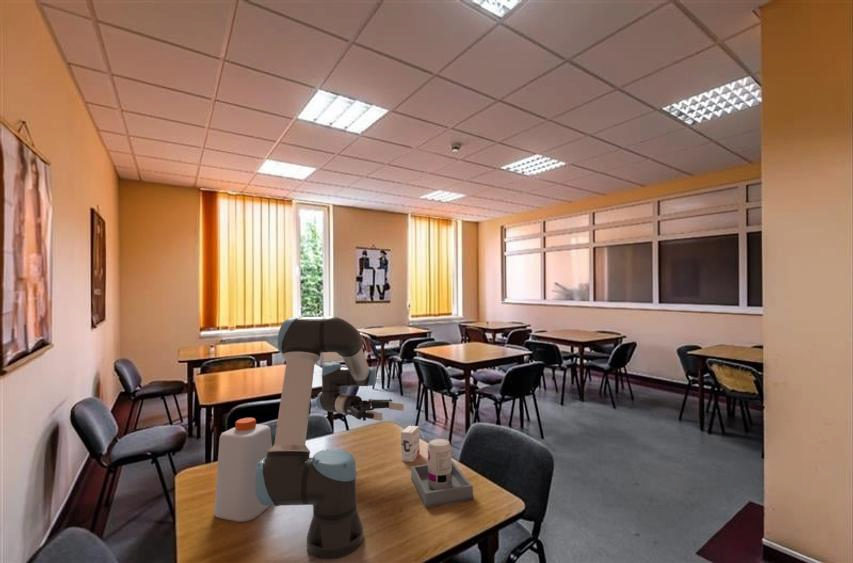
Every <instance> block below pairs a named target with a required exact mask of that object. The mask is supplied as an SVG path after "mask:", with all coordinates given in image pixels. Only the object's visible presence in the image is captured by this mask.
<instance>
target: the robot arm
mask: <svg viewBox="0 0 853 563" xmlns="http://www.w3.org/2000/svg"><path fill="white" fill-rule="evenodd" d="M277 350H278V351H279V353H281V354H282V359H283V360H284V361H285V363H286V364H285V368H284V376H283V382H282V388H281V389H282V390H281V395H280V396H281V397H280V402H279V408H278V409H279V410H278V417H277V422H276V430H275V436H274V443H273V444H272V447H271V448H270V449H269V450H268V451H267V457H266V458H264V459H262V460H261V461H260V462H259V463H258V467H257V468H256V473H255V492H256V495H257V498H258V500H259V502H260V503H261V504H263V505H271V506H274V507H280V506H306V505H307V506H311V505H312V507H313V508H312V510H313V511H312V513H313V514H312V518H311V522H310V524H309V528H308V531H307V535H306V548H307V551H308V553H309V554H311V555H312V556H313V557H315V558H316V557H317V558H319V559H325V560H327V559H337V558H341V557H344V556H347V555H349V554H351V553H352V552H355V550H357V549H358V548H359V547H360V545H361V544H362V543H363V540H364V526H363V524H362V520H361V517H360V514H359V512H358V509H357V475H358V474H357V473H358V472H357V467H356V465H357V464H356V459H355V457H354V456H353V454H351V453H350V452H348V451H346V450H342V449H337V448H327V449H324V450H323V449H322V450H319V451H317V452H316V453H315V452H314V454H313V456H312V457H310V456H311V455H310V454H311V451H310V449H309V447H308V446H306V441H307V440H306V439H307V432H308V425H309V424H308V423H309V416H310V408H311V406H310V405H311V398H312V389H313V382H314V381H313V380H314V372H315V365H316V364H317V362H319V361H320V360H321V353H337V355H339V356H340V357H341V358H342V359H343V362H344V363H345V365H346V367H342V364H341V362H327V363H324V364H323V365H322V366H321V367H322V368H321V369H322V370H321V387H322V391H320V392H319V393H318V394H317V397H316V400H315V404H316V406H317V408H318V409H320V410H322V411H325V412H330V413H338V414H341V415H343V416H345V415H348V416H352V417H354V418H355V419H357V420H359V421H360V420H362V421H367V419H368V420H375V421H381V422H382V421H383V412H381V411H375V410H377V409H378V410H379V409H389V410H395V411H400V412H401V411H402V412H404V410H405V403H404V402H398V401H397V402H395V401H393V399H391V398H389V399H371V398H369V399H368V400H363V399H362V398H361V397H360V396H359V395H355V394H347V393H341V392H342V391H341V390H342V387H370V386H371V387H372V386H375V385H376V383H377V369H376V367H373V366H369V365H368V361H367V359H366V356H365V353H364V351H363V350H364V349H363V338H362V335H361V334H360V332H359V331H358V329H357V328H356V327H355V326H354V325H353V324H351V323H350V322H348V321H347V320H345V319H343V318H340V317H337V316H332V315H331V316H297V317H289V318H287V319H286V320H284V321H283V322H282V324H281V326H280V327H279V331H278V335H277Z"/></svg>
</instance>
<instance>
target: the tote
mask: <svg viewBox="0 0 853 563" xmlns="http://www.w3.org/2000/svg"><path fill="white" fill-rule="evenodd" d="M451 461H452V485H451V487H450V488H447V489H440V490H433V489H431V488H430V487H429V485H428V463H426V464H420V465H412V466H411V467H410V474H411V475H410V476H411V481H412V483H413V484H414V487H415V489H416V491H417V493H418V495H419V497H420V500H421V502H422V504H423V506H424V508H425V509H429V508H433V507H440V506H447V505H452V504H457V503H462V502H469V501H474V488H473V487H474V486H473V484H472V483H471V482H470V480H469V479H468V478H467V477H466V476H465V474H464V473H463V472H462V471H461V469H460V468H459V467H458V465H457V464H456V463H455V462H454V461H453V460H451Z"/></svg>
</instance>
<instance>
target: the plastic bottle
mask: <svg viewBox="0 0 853 563" xmlns="http://www.w3.org/2000/svg"><path fill="white" fill-rule="evenodd" d="M234 424H235V427H231V428H230V429H228V430H226V431H224V432H222V433H221V434H220V436H219V441H218V454H217V455H218V456H217V471H216V480H215V481H216V484H215V494H214V495H215V497H214V509H213V513H214V515H215V517H216V518H219V519H222V520H227V521H232V522H238V523H244V522H249V521H251V520H254V519H255V518H257V517H258V516H260V515H261V514H262V513H264V512H265V511H266V510H267V509H268V508H270V507H271V506H272V505H263V504H261V503H260V502H259V500H258V498H257V495H256V492H255V473H256V468H257V467H258V463H259V462H260V461H261V460H262V459H264V458H266V457H267V451H268V450H269V449H270V448H271V447H272V446H273V444H272V432H271V431H272V430H271V427H270V426H269V425H267V424H259V423H257V420H256V418H254V417H244V418H240V419H238V420H236V421H235V423H234Z"/></svg>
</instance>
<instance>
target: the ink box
mask: <svg viewBox="0 0 853 563" xmlns="http://www.w3.org/2000/svg"><path fill="white" fill-rule="evenodd" d="M400 434H401V436H400V437H401V442H400V443H401V461H402V462H406V463H408V462H409V463H414V461H415V460H416V459H417V458H418V457H419V455H420V454H421V453H420V451H421V449H420V445H421V444H420V426H418V425H408V426H407V427H406V428H405V429H403V430H402V431H401V432H400Z"/></svg>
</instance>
